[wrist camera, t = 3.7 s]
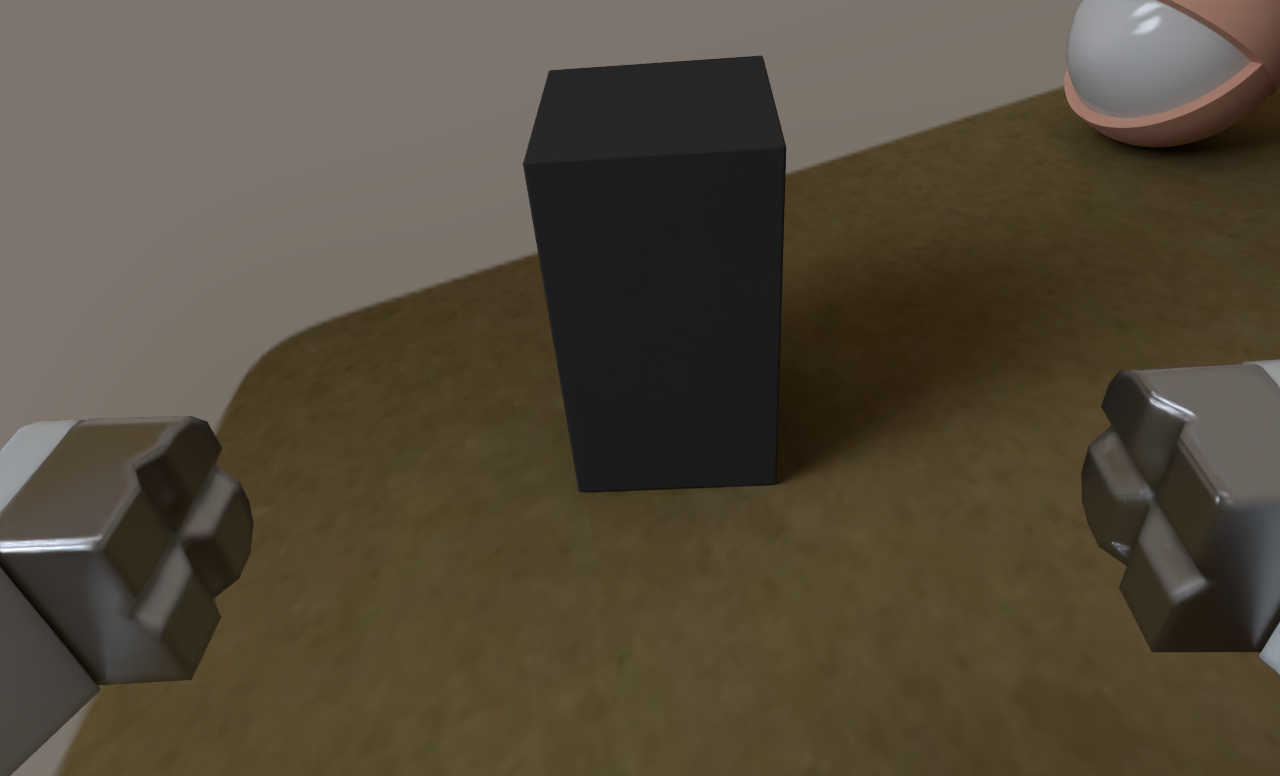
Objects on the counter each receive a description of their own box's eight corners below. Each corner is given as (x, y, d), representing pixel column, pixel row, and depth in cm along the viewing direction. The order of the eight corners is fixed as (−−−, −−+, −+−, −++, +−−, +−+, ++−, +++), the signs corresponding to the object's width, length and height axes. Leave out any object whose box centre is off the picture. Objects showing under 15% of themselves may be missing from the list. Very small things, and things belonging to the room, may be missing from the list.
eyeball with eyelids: (998, 123, 38) (1036, -84, 33) (1145, 86, 39) (1203, -115, 34) (1144, 201, 32) (1217, -37, 27) (1309, 154, 33) (1407, -78, 28)
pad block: (578, 492, 23) (521, 162, 17) (590, 371, 26) (548, 69, 21) (776, 484, 22) (786, 145, 17) (759, 363, 26) (762, 54, 20)
